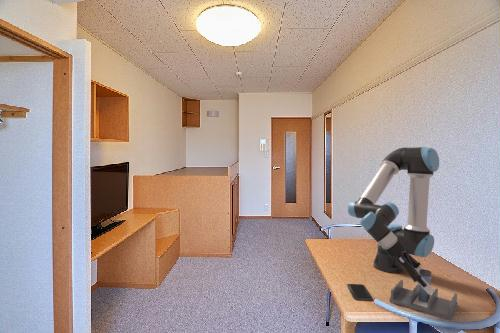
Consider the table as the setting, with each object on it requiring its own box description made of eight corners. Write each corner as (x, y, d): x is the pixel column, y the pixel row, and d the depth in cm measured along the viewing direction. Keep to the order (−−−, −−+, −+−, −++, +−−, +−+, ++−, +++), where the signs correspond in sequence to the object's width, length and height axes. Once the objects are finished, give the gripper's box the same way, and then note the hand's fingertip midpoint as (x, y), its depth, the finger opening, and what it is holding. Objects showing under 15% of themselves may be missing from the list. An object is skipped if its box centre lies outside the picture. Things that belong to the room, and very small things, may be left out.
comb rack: (399, 290, 144) (400, 279, 144) (457, 306, 130) (458, 293, 130) (389, 301, 132) (389, 290, 132) (451, 320, 118) (452, 307, 118)
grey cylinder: (419, 296, 134) (420, 268, 133) (430, 300, 131) (432, 271, 131) (417, 300, 131) (418, 271, 130) (428, 303, 128) (430, 274, 128)
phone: (354, 298, 134) (346, 283, 149) (354, 300, 134) (346, 286, 149) (373, 299, 133) (364, 284, 148) (373, 301, 133) (363, 286, 148)
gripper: (385, 242, 148) (421, 280, 142) (382, 258, 126) (424, 304, 120) (398, 232, 146) (435, 270, 140) (398, 246, 123) (441, 292, 117)
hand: (430, 286), depth 130 cm, fingers open, 13 cm apart
